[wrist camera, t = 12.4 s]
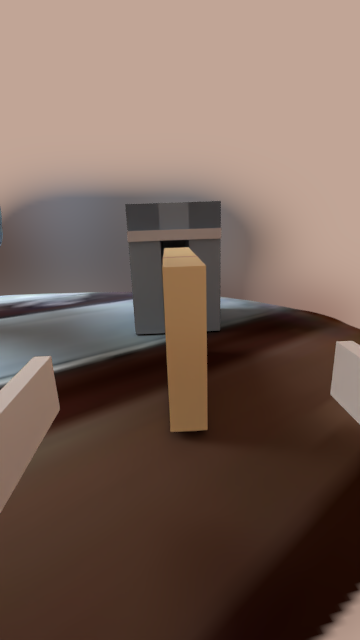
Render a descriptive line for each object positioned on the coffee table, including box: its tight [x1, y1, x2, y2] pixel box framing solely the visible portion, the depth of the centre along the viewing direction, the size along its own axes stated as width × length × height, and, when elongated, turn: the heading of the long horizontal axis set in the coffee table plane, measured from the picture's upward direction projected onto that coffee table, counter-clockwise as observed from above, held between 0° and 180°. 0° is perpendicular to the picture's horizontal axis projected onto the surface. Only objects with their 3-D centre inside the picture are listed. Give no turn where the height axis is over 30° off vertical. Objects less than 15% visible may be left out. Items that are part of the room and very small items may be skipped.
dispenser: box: [126, 201, 221, 334], centre depth 44 cm, size 13×11×16 cm
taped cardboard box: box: [162, 247, 208, 432], centre depth 27 cm, size 15×3×11 cm, turn 2°
